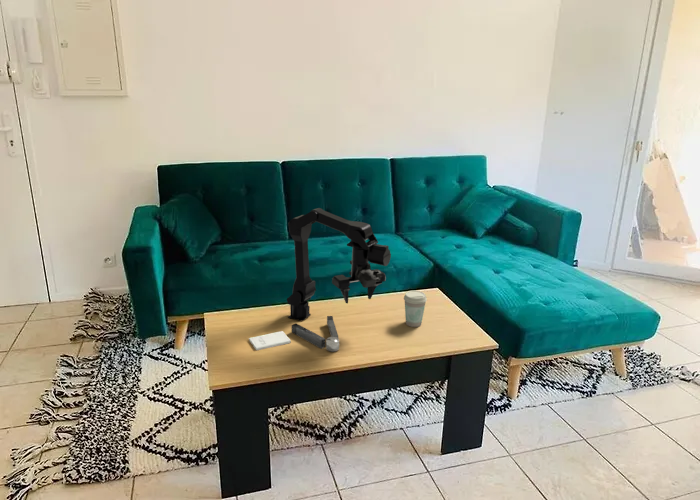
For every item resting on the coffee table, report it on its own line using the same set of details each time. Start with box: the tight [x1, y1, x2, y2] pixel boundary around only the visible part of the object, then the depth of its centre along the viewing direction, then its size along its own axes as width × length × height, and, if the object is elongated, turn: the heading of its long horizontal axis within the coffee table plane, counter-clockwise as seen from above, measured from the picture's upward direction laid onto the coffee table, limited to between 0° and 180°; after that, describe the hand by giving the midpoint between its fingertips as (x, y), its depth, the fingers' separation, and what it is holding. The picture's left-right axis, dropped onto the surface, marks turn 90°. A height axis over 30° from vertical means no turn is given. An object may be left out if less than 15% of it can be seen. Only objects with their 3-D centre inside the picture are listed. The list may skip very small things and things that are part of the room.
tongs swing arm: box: [325, 315, 340, 352], centre depth 187 cm, size 21×5×3 cm, turn 10°
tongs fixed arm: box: [291, 323, 326, 349], centre depth 185 cm, size 16×2×3 cm, turn 45°
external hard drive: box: [248, 330, 291, 351], centre depth 184 cm, size 2×8×12 cm
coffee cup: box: [403, 290, 428, 328], centre depth 198 cm, size 8×8×12 cm
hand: (358, 301), depth 188 cm, fingers open, 9 cm apart
